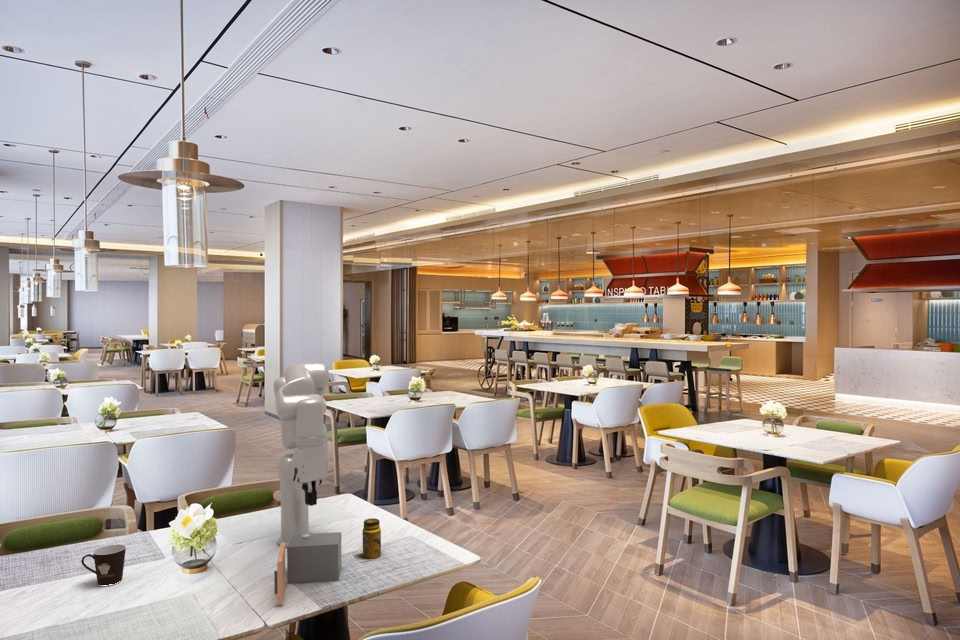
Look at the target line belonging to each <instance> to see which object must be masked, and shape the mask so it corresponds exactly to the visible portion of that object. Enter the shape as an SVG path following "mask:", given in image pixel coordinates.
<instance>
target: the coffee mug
mask: <svg viewBox="0 0 960 640" xmlns="http://www.w3.org/2000/svg"><path fill="white" fill-rule="evenodd" d="M126 550H127V547H126V545H124V544H109V545H105V546H101V547H98V548H96V549H94V550H93V551H92V553H93V554H90V553H88V554H86V555H84V556H83V557H82V558H81V565H82V566H83V567H84V568H85V569H86V570H88V571H90V572H91V573H93V574H95V575H96V581H97V582H96V583H97V585H98V584H99V585H109V584H115V583H117V582H119V581H121V580H122V581H123V576H124V567H125V560H126V559H125V558H126V552H127V551H126ZM87 557H91V558H92V559H93V561H94V562H93V563H94V568H95V570H94V569H92V568H91V567H89V566H87V565H86V564H85V558H87ZM122 581H121V582H122Z"/></svg>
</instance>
